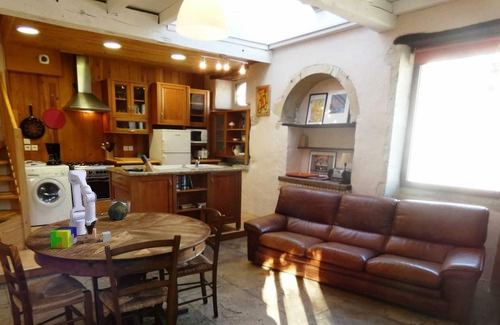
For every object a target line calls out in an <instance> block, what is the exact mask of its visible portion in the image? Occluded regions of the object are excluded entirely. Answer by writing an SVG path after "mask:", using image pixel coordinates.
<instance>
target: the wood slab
mask: <svg viewBox="0 0 500 325" xmlns="http://www.w3.org/2000/svg"><path fill="white" fill-rule="evenodd" d="M98 240H99V234H96V237H95V238H89V239H87V235H86V236H85V237H84V239H83V244H84V243H87V244H96V243H97V242H98Z"/></svg>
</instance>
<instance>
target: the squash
mask: <svg viewBox="0 0 500 325" xmlns="http://www.w3.org/2000/svg"><path fill="white" fill-rule="evenodd" d="M128 213H129V210H128V208H127V206H126V205H125V204H124V203H123V202H122V201H121V200H117V201H116V202H114V203H112V204H111V205H110V206H109V208H108V211H107V214H108V217H109V219H111V220H116V221H119V220H123V219H124V218H126V217H127V216H128Z"/></svg>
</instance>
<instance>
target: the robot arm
mask: <svg viewBox="0 0 500 325" xmlns="http://www.w3.org/2000/svg"><path fill="white" fill-rule="evenodd" d="M67 172H68V173H67V180H68V183H69V184H71V189H72V198H73V200H72V201H73V207H72V208H71V209H70V210H69V220H70V221H69V223H68V227H77V236H81V235H82V236H84V235H87V232H88V235H92V233H93V228H95V225H96V222H97V221H98V218H97V217H96V202H97V194H96V193H95V192H94V191H92V189H91V186H90V185H89V184H87V180H86V178H87V171H86V170H85V169H76V170H70V169H69V170H68V171H67ZM82 201H83V202H82Z"/></svg>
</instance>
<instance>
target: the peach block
mask: <svg viewBox="0 0 500 325" xmlns="http://www.w3.org/2000/svg"><path fill="white" fill-rule="evenodd" d="M96 235H97V228H96V227H94V228H93V233H92V235H88V232H86V236H87V239H89V238H95V237H96Z"/></svg>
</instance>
